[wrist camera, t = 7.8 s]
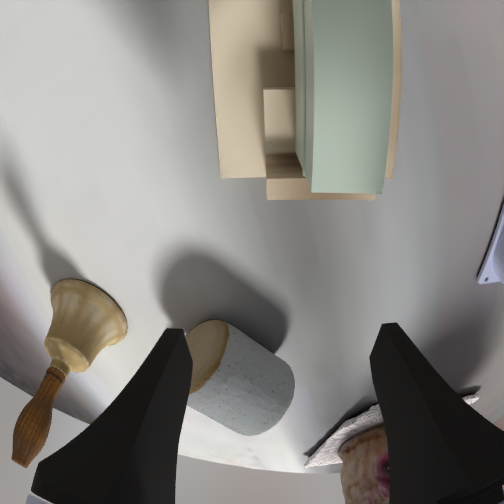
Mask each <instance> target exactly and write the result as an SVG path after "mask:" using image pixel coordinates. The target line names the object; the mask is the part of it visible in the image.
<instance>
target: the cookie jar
mask: <svg viewBox="0 0 504 504" xmlns="http://www.w3.org/2000/svg"><path fill="white" fill-rule="evenodd" d="M479 398H480V395H479V394H475V395H469V396H465V397H462V399H463V400H464V401H465V402H466V403H467V404H471V403H473V402H475V401H476V400H478V399H479ZM335 463H343V466H342V469H341V483H342V488H343V494H344V498H345V503H346V504H389V496H390V473H389V456H388V445H387V437H386V431H385V427H384V423H383V418H382V414H381V411H380V407H379V404H376V405H373V406H371V408H370V409H369V411H368V412H367V411H366V412H364V413H362V414H361V415H359V416H357V417H355V418H352V419H349V420H347V421H345V422H344V423H343V424H342V425H341V426H340V427H339V428H338V430H337V431H336V432H334V433H333V434H332V435H331V436H330V437H329V438H328V439H327V440H326V441H325V442H324V443H323V444H322V445H321V446H320V447H319V448H318V450H317V451H316V452H315V453H314V454H313V455H312V456H310V457H308V458H307V461H306V463H305V464H304V468H306V467H314V466H323V465H329V464H335Z"/></svg>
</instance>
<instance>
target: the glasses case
mask: <svg viewBox="0 0 504 504" xmlns="http://www.w3.org/2000/svg"><path fill="white" fill-rule="evenodd" d="M293 19H294V47H295V116H296V123H295V152H296V154H297V157H298V159H299V162H300V164H301V167H302V174H303V176H305V177H306V180H307V182H308V185H309V188H310V190H311V193H362V194H382V192H383V185H384V178H385V170H386V162H387V153H388V144H389V134H390V122H391V108H392V89H393V19H392V2H391V0H293Z"/></svg>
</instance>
